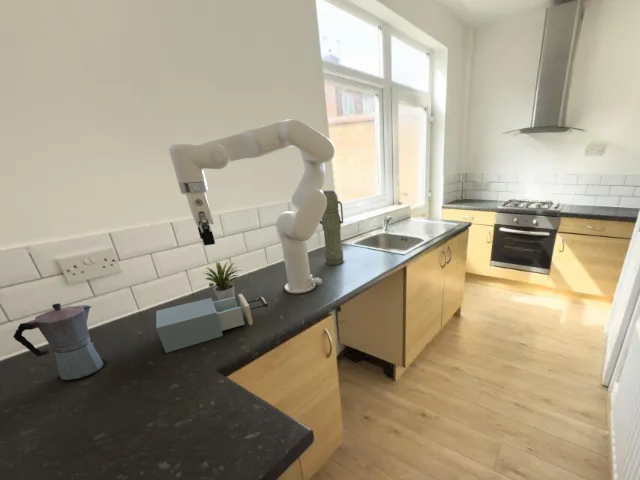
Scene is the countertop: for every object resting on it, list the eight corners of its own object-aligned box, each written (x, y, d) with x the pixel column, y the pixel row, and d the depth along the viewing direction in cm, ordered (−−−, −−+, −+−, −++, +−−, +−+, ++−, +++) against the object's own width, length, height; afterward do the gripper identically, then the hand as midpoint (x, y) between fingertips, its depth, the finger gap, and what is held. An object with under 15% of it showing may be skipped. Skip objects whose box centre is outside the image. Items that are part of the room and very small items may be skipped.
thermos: (323, 260, 165) (315, 190, 151) (346, 258, 166) (340, 189, 152) (322, 266, 157) (314, 193, 143) (346, 264, 158) (341, 192, 144)
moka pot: (123, 358, 91) (95, 295, 83) (59, 394, 78) (18, 325, 70) (101, 352, 94) (72, 291, 86) (35, 386, 81) (-6, 318, 73)
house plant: (230, 314, 114) (219, 271, 107) (197, 310, 117) (185, 269, 110) (253, 296, 127) (245, 258, 120) (223, 294, 130) (213, 256, 123)
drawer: (263, 305, 117) (259, 289, 115) (272, 318, 109) (268, 300, 106) (200, 322, 107) (195, 304, 104) (204, 337, 99) (199, 318, 96)
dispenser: (217, 319, 111) (211, 297, 107) (223, 336, 101) (216, 312, 97) (164, 334, 103) (156, 310, 99) (165, 353, 93) (156, 328, 90)
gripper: (210, 189, 94) (224, 245, 101) (204, 184, 107) (216, 234, 114) (181, 191, 90) (197, 249, 97) (178, 186, 103) (192, 237, 110)
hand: (207, 241), depth 106 cm, fingers open, 9 cm apart
